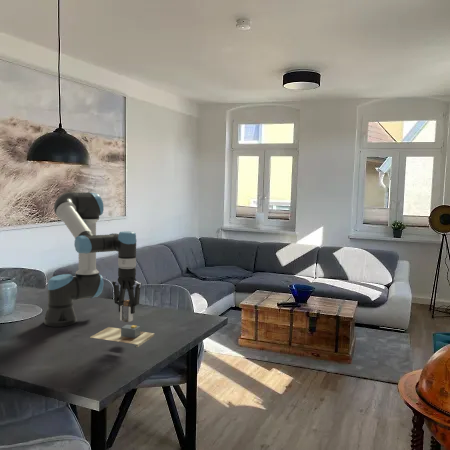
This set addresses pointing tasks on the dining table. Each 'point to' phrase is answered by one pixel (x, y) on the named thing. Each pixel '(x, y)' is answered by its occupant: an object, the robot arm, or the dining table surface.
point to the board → (115, 335)
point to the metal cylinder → (125, 310)
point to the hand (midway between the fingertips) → (126, 320)
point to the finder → (130, 331)
